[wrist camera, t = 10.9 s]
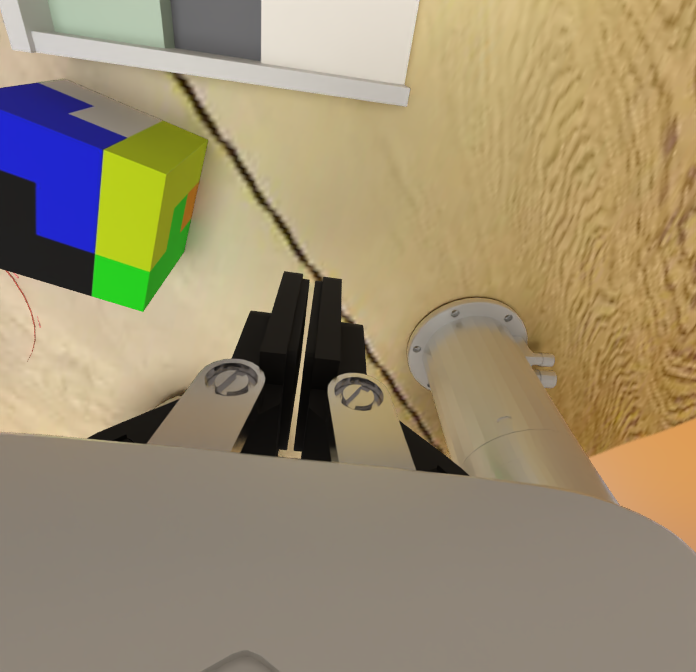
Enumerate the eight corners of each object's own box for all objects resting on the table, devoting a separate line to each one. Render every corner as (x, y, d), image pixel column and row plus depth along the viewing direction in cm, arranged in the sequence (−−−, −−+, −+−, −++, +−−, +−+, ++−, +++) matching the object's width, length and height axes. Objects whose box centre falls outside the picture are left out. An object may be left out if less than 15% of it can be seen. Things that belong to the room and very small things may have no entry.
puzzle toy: (65, 78, 29) (-39, 93, 20) (208, 139, 31) (166, 174, 23) (61, 208, 34) (-23, 261, 26) (184, 251, 36) (143, 311, 28)
